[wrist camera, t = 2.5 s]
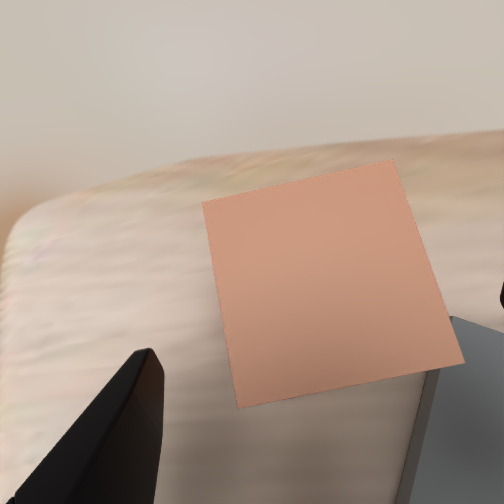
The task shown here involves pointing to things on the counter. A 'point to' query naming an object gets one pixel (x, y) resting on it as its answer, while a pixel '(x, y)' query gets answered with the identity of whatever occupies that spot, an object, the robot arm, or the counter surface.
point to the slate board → (460, 426)
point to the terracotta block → (325, 286)
